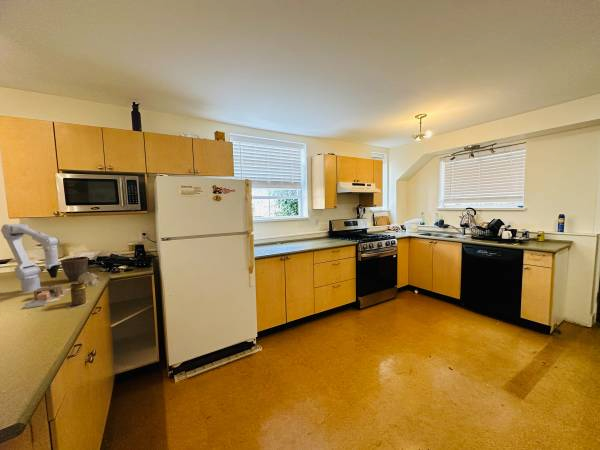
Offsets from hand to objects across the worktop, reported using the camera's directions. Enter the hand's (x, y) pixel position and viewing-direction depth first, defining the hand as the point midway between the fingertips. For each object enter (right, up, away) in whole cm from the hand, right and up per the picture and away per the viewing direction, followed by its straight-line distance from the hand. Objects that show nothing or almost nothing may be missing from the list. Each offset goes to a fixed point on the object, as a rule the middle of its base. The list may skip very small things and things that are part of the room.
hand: (53, 277), depth 156 cm
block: (+10, -10, -15) cm, 21 cm away
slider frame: (+9, -9, -15) cm, 20 cm away
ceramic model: (+12, -9, +11) cm, 19 cm away
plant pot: (-8, -8, +25) cm, 27 cm away
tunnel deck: (+7, -10, -9) cm, 15 cm away
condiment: (+33, -11, -19) cm, 40 cm away
